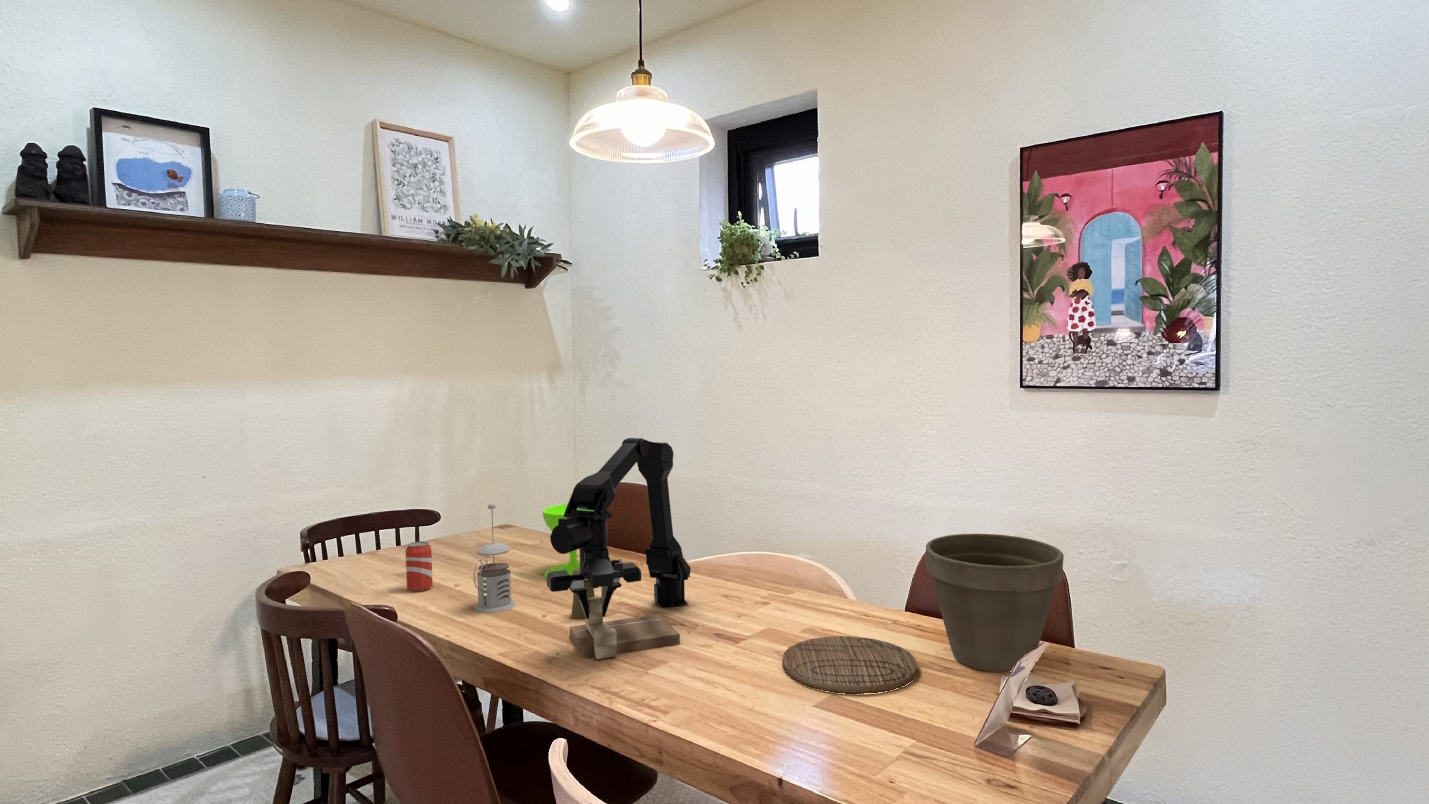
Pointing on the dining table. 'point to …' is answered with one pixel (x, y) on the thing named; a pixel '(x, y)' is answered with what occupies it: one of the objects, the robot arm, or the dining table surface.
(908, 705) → the dining table surface
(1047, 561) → the plant pot
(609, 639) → the lever handle
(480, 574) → the french press
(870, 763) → the dining table surface
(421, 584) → the beverage can
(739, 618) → the dining table surface
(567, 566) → the wineglass
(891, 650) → the trivet
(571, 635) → the board
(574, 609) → the cork
